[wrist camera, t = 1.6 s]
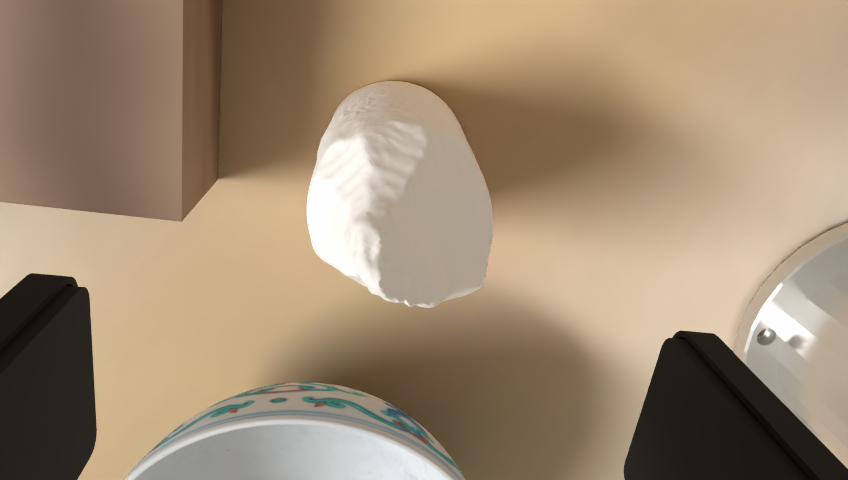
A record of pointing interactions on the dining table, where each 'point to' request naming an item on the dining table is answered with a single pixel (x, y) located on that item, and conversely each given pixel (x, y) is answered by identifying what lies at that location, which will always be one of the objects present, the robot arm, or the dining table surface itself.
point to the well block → (110, 104)
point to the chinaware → (299, 440)
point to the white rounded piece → (400, 197)
